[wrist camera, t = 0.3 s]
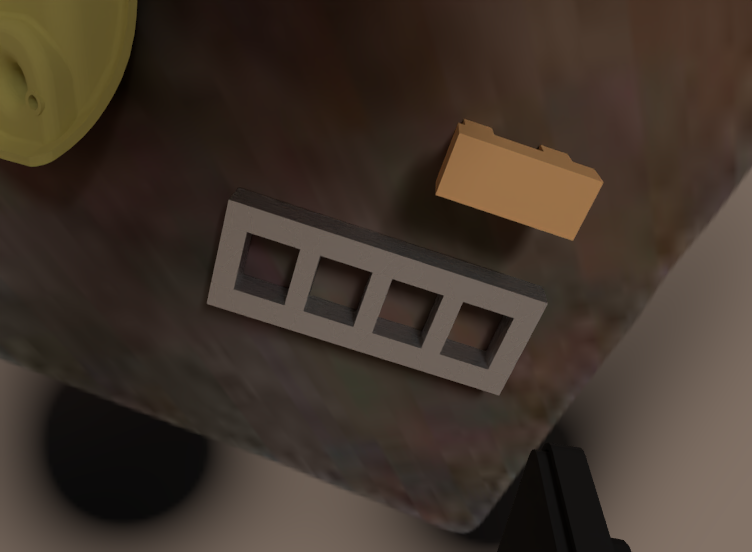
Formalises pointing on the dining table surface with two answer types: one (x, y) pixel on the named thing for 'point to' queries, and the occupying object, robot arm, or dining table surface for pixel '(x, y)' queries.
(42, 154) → the banana bunch
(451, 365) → the grey slotted tray
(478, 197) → the tan rectangular block
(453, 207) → the dining table surface
